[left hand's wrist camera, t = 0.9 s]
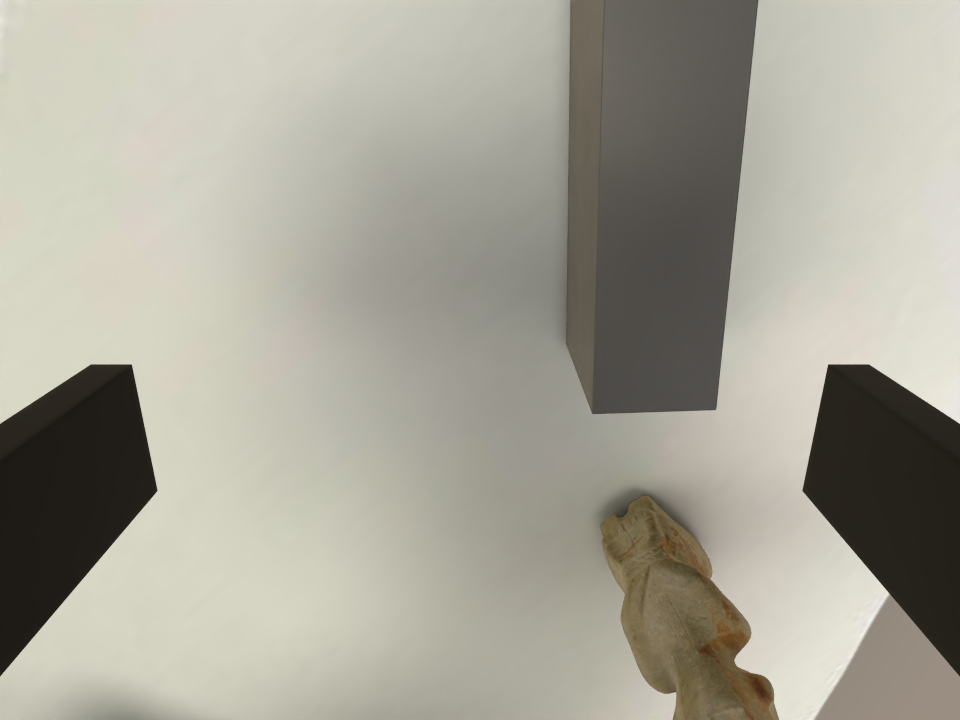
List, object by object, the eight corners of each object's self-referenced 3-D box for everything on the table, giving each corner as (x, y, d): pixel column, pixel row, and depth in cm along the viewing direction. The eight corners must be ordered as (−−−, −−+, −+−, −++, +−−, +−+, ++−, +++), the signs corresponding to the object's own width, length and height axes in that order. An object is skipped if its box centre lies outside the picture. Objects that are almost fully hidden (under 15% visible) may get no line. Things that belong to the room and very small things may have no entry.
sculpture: (637, 594, 42) (716, 836, 28) (575, 518, 40) (627, 737, 26) (717, 549, 41) (841, 778, 27) (657, 468, 39) (758, 670, 25)
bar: (661, 341, 36) (716, 410, 28) (566, 344, 36) (592, 414, 28) (693, -130, 28) (782, -230, 20) (572, -125, 28) (610, -223, 20)
